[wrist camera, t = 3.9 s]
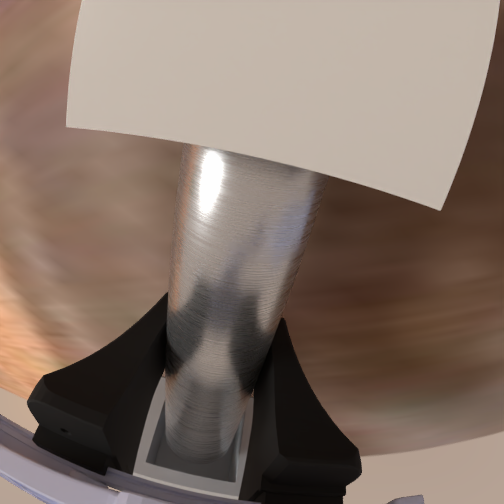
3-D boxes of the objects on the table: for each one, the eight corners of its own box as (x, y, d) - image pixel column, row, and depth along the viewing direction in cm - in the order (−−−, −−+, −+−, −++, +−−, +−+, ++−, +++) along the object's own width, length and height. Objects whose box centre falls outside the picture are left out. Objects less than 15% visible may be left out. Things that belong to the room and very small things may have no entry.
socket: (272, 401, 19) (264, 499, 13) (254, 436, 22) (244, 515, 16) (146, 372, 19) (112, 464, 13) (150, 412, 21) (125, 488, 16)
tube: (372, -50, 6) (412, -97, 3) (234, 416, 17) (226, 470, 14) (251, -77, 6) (233, -136, 2) (174, 402, 17) (158, 454, 14)
